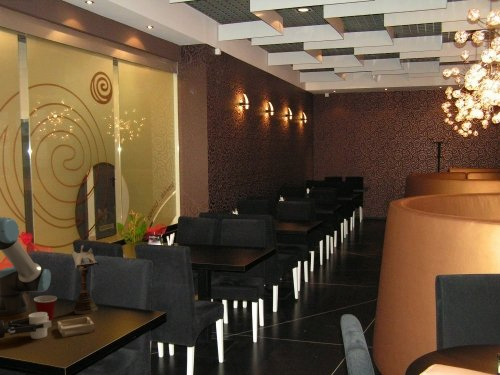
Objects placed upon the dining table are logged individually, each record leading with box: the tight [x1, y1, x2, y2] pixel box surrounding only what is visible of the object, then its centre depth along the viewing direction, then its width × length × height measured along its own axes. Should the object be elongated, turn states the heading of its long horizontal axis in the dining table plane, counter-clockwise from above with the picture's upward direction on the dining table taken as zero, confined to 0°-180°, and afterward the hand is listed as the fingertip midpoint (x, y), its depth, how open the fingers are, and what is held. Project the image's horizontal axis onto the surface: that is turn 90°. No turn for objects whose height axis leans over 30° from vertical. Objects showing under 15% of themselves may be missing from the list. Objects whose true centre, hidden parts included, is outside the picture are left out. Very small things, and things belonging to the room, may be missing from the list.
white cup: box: [28, 311, 48, 340], centre depth 239 cm, size 8×8×10 cm
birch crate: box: [56, 316, 95, 338], centre depth 247 cm, size 14×14×4 cm
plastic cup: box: [33, 295, 58, 323], centre depth 261 cm, size 11×11×12 cm
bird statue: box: [71, 244, 100, 315], centre depth 275 cm, size 17×13×35 cm
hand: (49, 321), depth 242 cm, fingers closed on white cup, 8 cm apart
